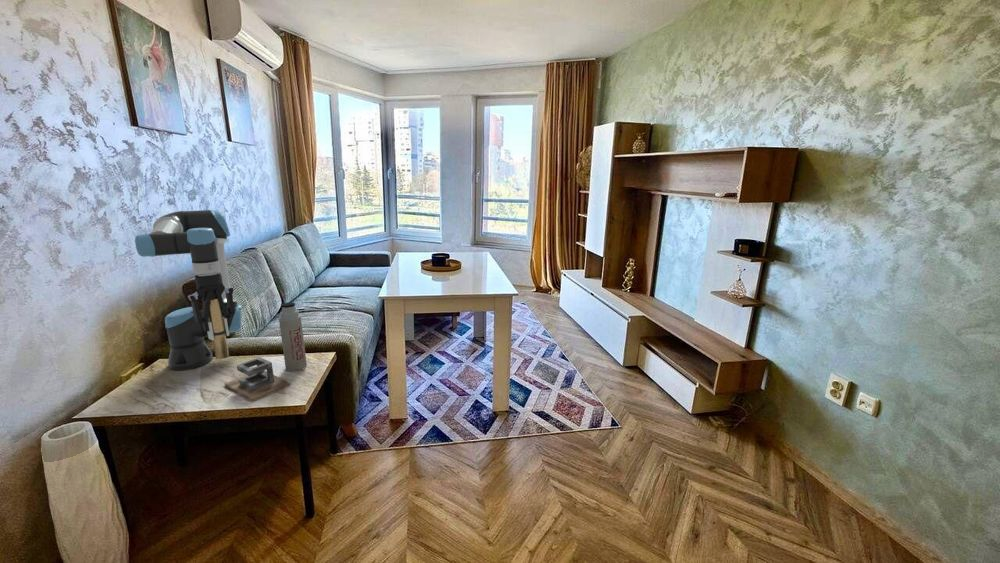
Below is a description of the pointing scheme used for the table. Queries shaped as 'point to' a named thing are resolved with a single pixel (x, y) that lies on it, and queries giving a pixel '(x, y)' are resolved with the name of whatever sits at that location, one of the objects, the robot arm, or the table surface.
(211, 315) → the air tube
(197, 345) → the robot arm
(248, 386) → the collar stand
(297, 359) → the thermos bottle
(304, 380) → the table surface
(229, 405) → the table surface
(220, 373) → the table surface
